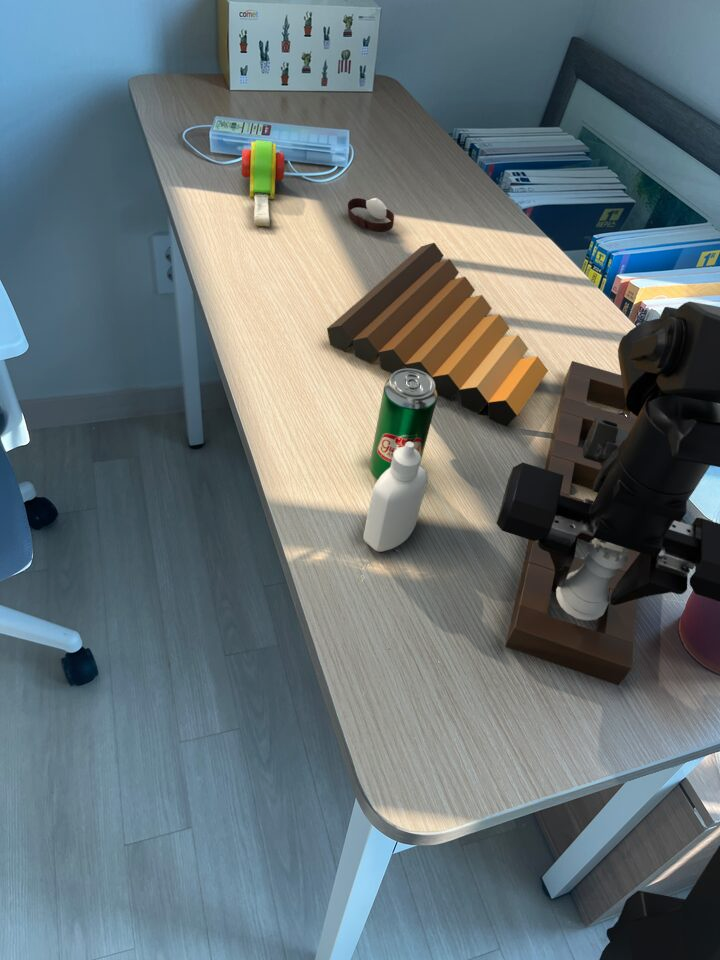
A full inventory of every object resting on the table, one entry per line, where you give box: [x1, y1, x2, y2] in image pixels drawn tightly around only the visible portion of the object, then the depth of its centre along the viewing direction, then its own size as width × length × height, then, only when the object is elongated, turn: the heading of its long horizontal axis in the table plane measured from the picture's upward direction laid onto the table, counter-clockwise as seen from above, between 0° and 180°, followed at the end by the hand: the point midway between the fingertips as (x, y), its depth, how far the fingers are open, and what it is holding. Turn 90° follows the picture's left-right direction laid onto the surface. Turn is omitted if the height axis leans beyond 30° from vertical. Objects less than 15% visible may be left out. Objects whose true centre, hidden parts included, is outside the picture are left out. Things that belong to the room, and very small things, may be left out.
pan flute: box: [326, 242, 549, 428], centre depth 95 cm, size 25×3×25 cm
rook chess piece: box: [555, 538, 628, 622], centre depth 63 cm, size 4×4×8 cm
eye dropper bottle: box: [362, 442, 429, 553], centre depth 68 cm, size 4×6×12 cm
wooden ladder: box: [505, 360, 640, 686], centre depth 77 cm, size 40×10×3 cm, turn 162°
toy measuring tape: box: [241, 139, 286, 228], centre depth 113 cm, size 6×20×7 cm, turn 4°
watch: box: [347, 197, 395, 233], centre depth 112 cm, size 8×5×4 cm, turn 56°
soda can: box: [369, 368, 438, 481], centre depth 74 cm, size 5×5×12 cm
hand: (585, 591), depth 65 cm, fingers closed on rook chess piece, 4 cm apart
